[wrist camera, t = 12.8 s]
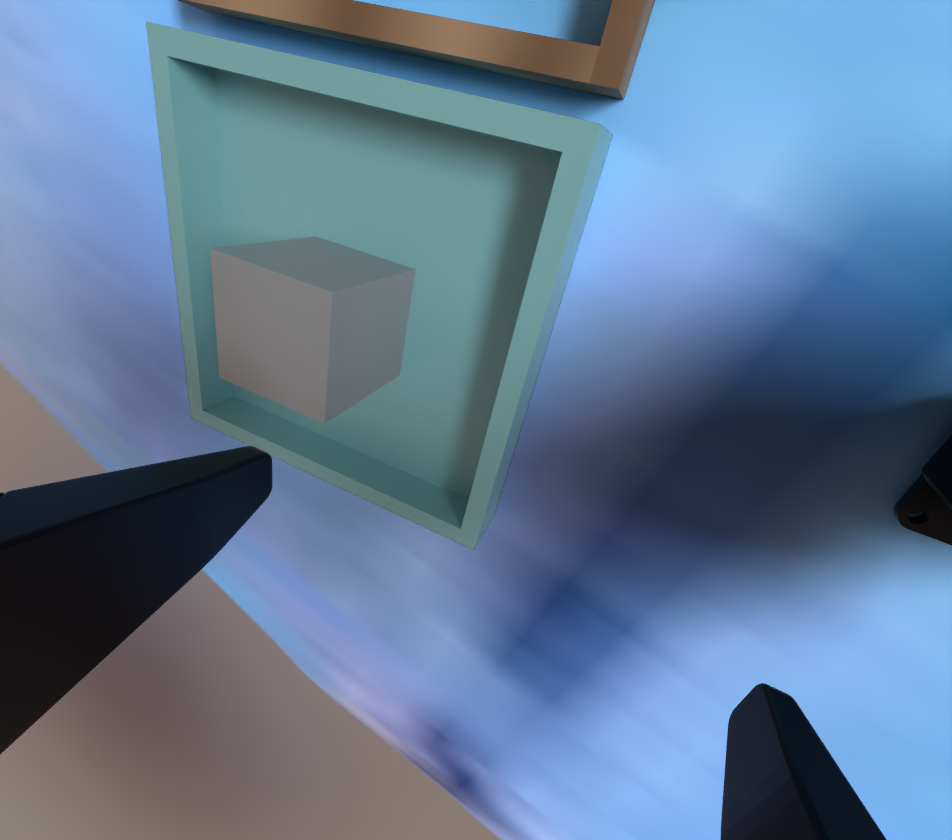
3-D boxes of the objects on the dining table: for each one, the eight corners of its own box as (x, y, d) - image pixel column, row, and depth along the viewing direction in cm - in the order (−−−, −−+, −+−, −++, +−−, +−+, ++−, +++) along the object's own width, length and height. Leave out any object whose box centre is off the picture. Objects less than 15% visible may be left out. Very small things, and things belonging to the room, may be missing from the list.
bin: (613, 134, 14) (601, 123, 12) (493, 516, 22) (474, 550, 20) (210, 42, 17) (145, 21, 15) (231, 399, 25) (191, 418, 23)
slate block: (415, 269, 17) (332, 292, 13) (399, 375, 20) (324, 423, 16) (316, 236, 18) (210, 248, 14) (312, 341, 21) (219, 377, 16)
